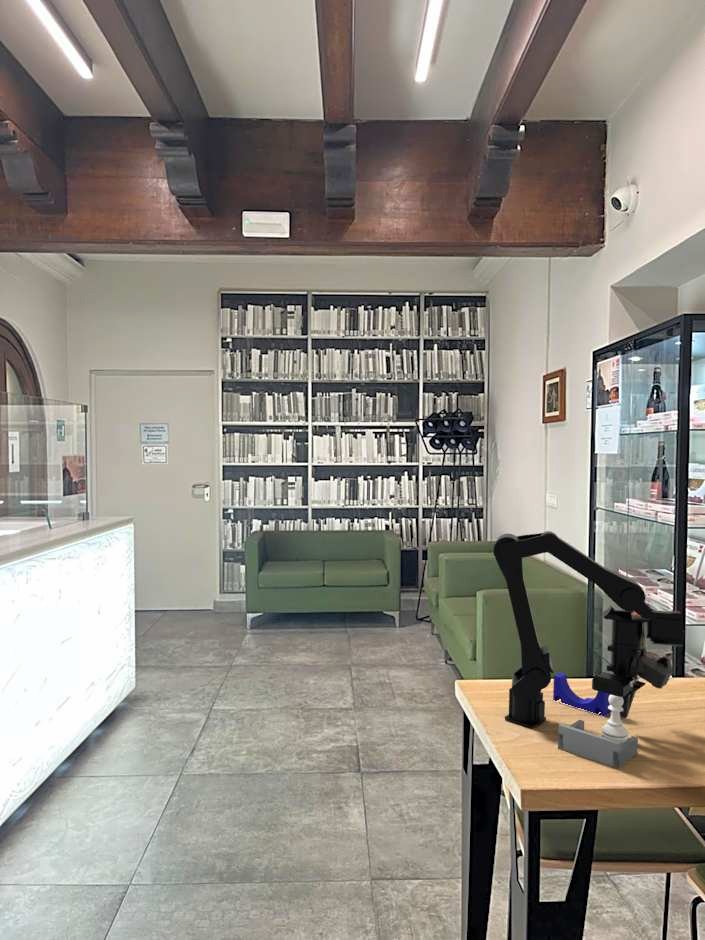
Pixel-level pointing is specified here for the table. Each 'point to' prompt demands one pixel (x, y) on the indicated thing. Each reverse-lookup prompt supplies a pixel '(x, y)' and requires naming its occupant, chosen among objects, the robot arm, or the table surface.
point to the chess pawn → (615, 721)
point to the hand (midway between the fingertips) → (623, 717)
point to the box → (595, 745)
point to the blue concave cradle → (571, 698)
